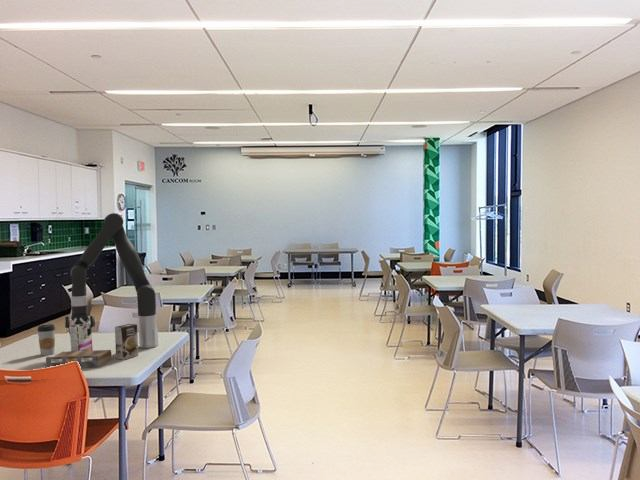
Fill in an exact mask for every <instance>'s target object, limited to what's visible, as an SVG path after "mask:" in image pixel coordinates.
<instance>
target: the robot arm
mask: <svg viewBox="0 0 640 480" xmlns="http://www.w3.org/2000/svg"><path fill="white" fill-rule="evenodd" d="M110 239H112V241H113V244H114V246H115V249H116V252H117V254H118V257H119V259H120V261H121V263H122V265H123V268H124V270H125V271H126V273H127V274H128V276H129V277H130V279H131V281H132V283H133V286H134V289H135V292H136V297H137V320H138V321H137V322H138V324H137V326H138V346H139V348H141V349H152V348H156V347H157V346H159V328H158V327H157V311H156V310H157V302H156V301H157V300H156V291H155V289H154V287H152V284H151V283H150V281H149V279H148V278H147V276H146V273H145V271H144V267H143V263H142V261H141V258H140V256H139V253H138V252H137V250H136V249H137V248H136V247H135V246H134V244H133V243H132V242H131V239H129V237H128V236H127V233H126V231H125V228H124V218H123V217H122V215H121V214H119V213H115V212H114V213H108V215H106V216H105V217H104V220H103V224H102V227H101V229H100V230H99V232H98V234H97V235H96V236H95V238H94V239H93V240H92V241H91V242H90V244H89V245H88V246H87V247H86V249H85V250H84V252H83V253H82V254H81V256H80V258H79V259H78V260H77V261H76V262H75V263H74V265H73V266H72V267H71V268H70V273H69V274H70V276H71V283H72V284H71V292H70V293H71V299H70V302H71V303H70V305H71V315H66V316H65V322H64V323H65V325H64V326H65V329H69V332H70V327H69V326H72V325H75V324H84V325H85V326H86V327H87V328H88V329H87V336H90V334H92V328H94V327H95V326H96V321H95V315H94V314H93V315H89V313H88V297H87V271H88V270H89V268H90V267H91V266H92V265H93V264H94V263H95V262H96V260H97V259H98V257H99V256H100V255H101V253H102V251H104V248H105V247H106V245H107V244H108V242H109V241H110ZM71 320H72V322H71ZM89 320H90V321H89ZM89 322H90V323H91V325H90V324H89Z"/></svg>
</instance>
